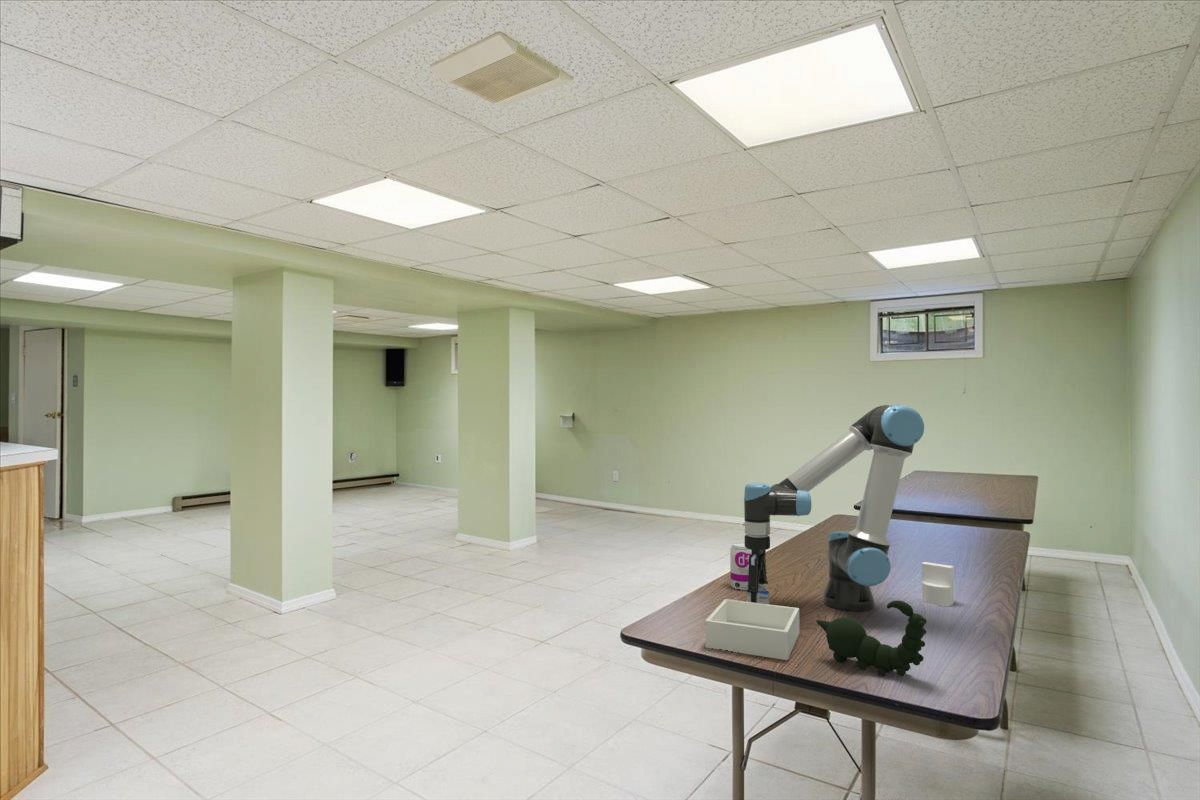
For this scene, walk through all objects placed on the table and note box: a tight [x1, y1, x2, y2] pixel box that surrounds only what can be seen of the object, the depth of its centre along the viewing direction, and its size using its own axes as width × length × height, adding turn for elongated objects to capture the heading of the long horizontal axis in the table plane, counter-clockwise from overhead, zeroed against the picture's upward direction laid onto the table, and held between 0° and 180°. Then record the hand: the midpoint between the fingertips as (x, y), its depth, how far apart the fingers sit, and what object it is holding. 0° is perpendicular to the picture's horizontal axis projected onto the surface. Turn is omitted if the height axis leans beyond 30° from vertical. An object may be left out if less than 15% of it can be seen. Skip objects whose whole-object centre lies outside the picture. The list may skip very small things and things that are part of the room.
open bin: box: [704, 598, 800, 661], centre depth 175 cm, size 21×21×7 cm
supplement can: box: [729, 542, 752, 591], centre depth 226 cm, size 8×8×15 cm
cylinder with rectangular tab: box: [921, 561, 955, 607], centre depth 208 cm, size 9×9×12 cm
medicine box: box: [746, 585, 770, 605], centre depth 195 cm, size 8×4×9 cm, turn 5°
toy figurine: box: [815, 599, 928, 677], centre depth 156 cm, size 9×19×25 cm
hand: (757, 609), depth 195 cm, fingers closed on medicine box, 9 cm apart
